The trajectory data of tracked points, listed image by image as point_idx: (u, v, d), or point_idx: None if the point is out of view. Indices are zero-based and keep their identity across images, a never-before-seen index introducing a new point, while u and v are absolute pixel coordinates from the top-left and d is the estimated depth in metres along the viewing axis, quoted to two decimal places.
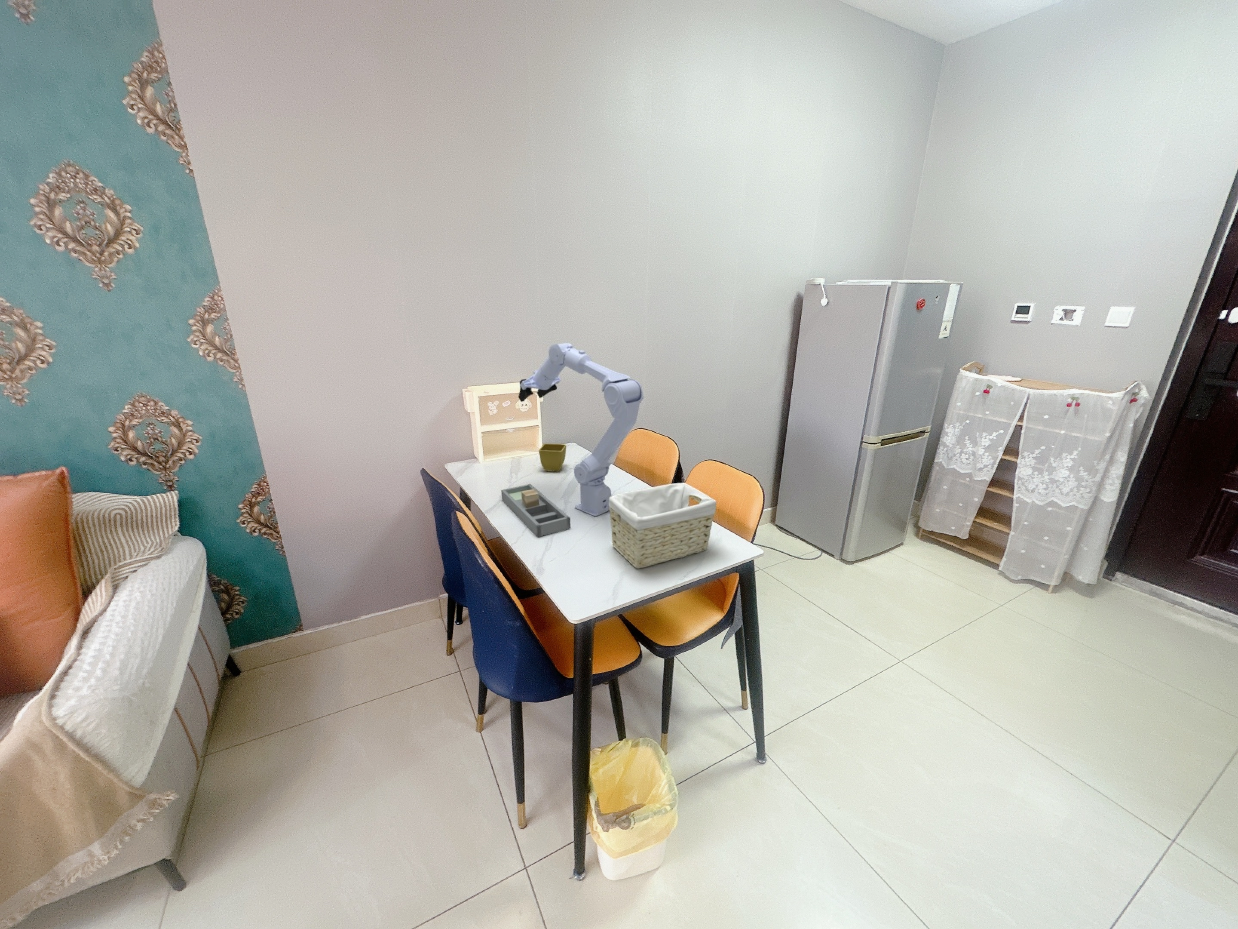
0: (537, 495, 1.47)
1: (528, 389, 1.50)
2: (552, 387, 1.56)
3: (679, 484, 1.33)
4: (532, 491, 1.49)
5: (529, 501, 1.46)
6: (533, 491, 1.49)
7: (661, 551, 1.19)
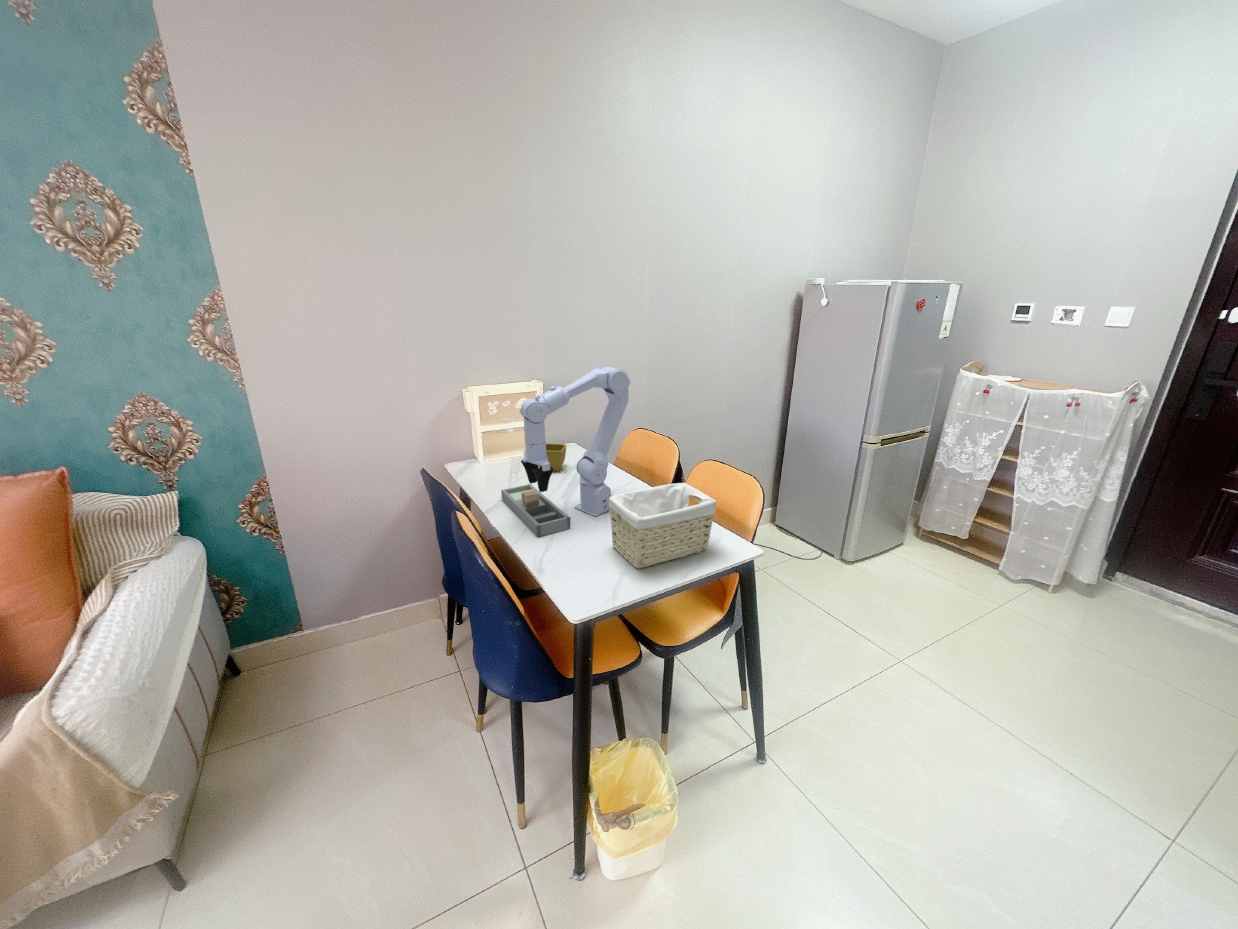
0: (537, 495, 1.47)
1: None
2: None
3: (679, 484, 1.33)
4: (532, 491, 1.49)
5: (529, 501, 1.46)
6: (533, 491, 1.49)
7: (661, 551, 1.19)
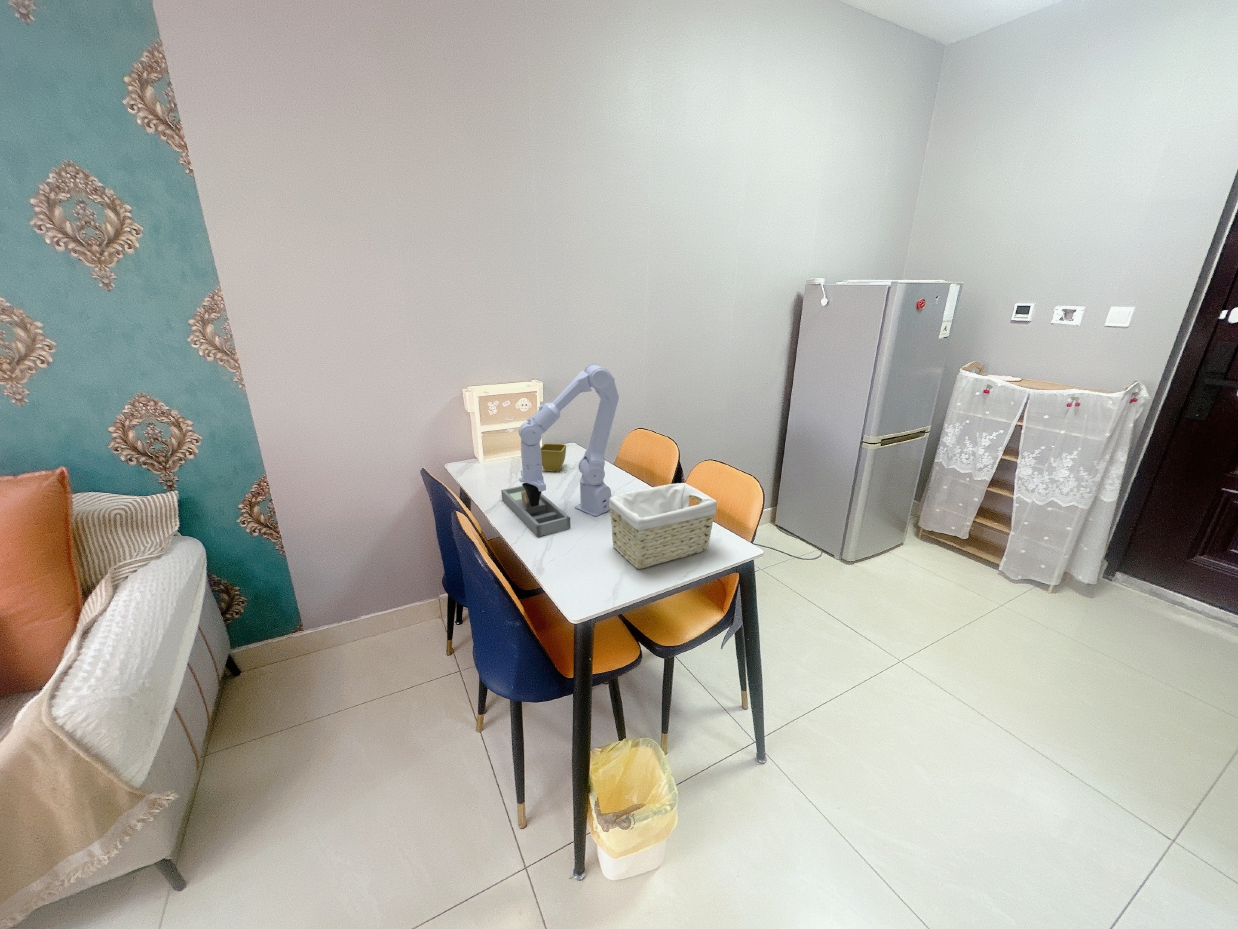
0: None
1: None
2: None
3: (679, 484, 1.33)
4: None
5: None
6: None
7: (662, 551, 1.19)
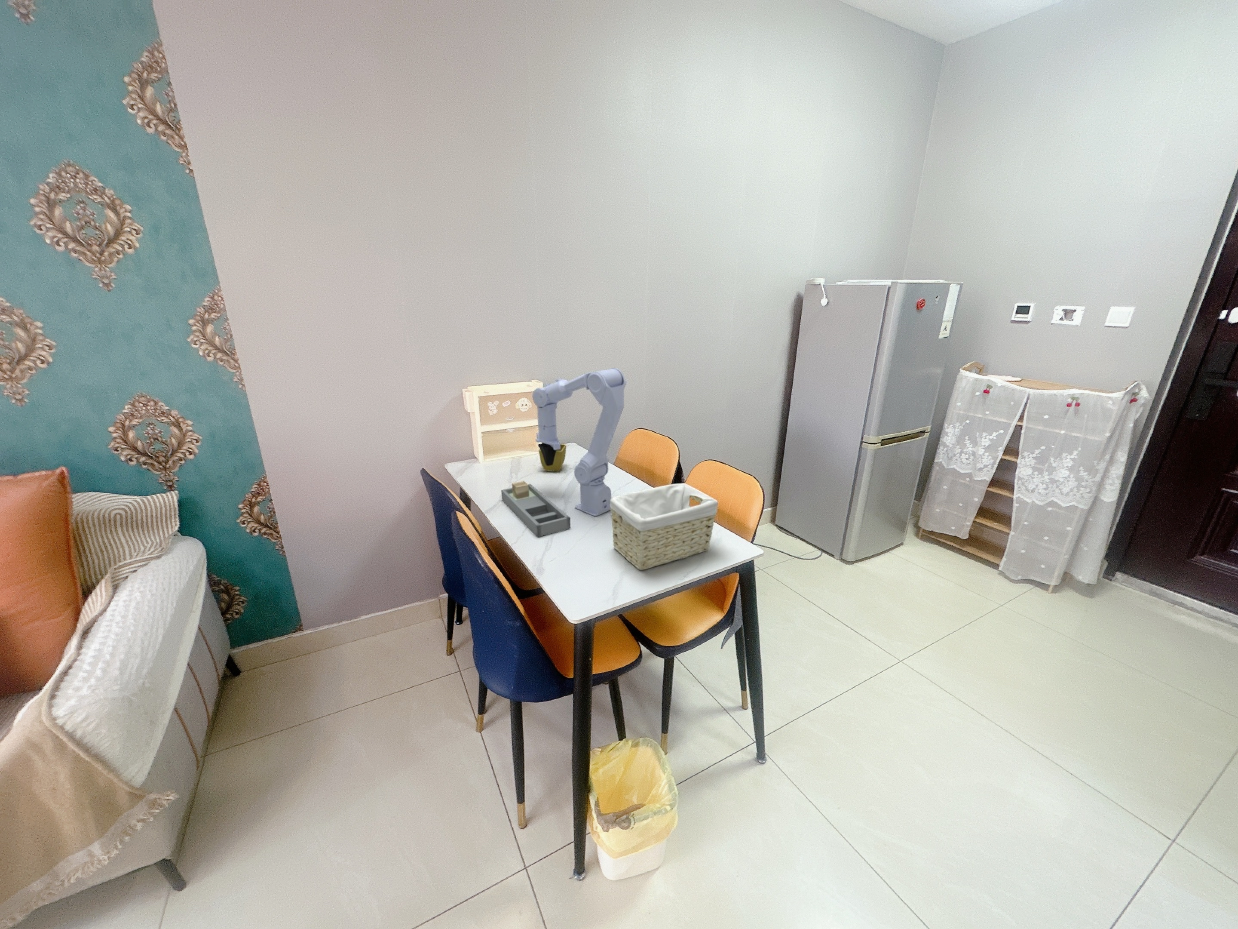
0: (527, 486, 1.54)
1: None
2: None
3: (679, 484, 1.33)
4: (522, 483, 1.55)
5: (519, 492, 1.53)
6: (523, 483, 1.55)
7: (664, 552, 1.18)
